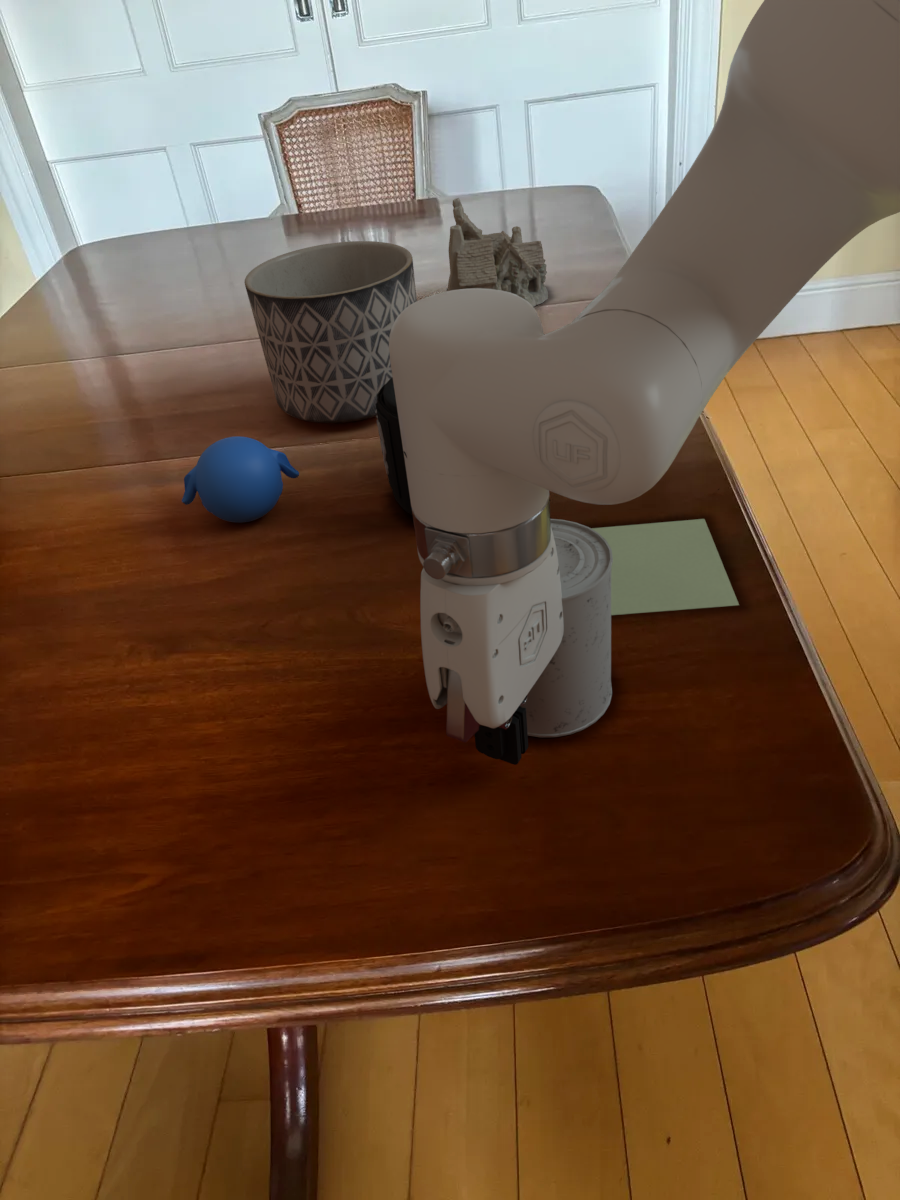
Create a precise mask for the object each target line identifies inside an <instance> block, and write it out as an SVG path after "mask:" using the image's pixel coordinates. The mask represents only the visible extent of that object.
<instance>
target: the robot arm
mask: <svg viewBox="0 0 900 1200" xmlns="http://www.w3.org/2000/svg"><path fill="white" fill-rule="evenodd" d="M723 97H724V98H723V102H722V105H721V109H720V111H719V114H718V116H717V119H716V121H715V124H714V125H713V127H712V128H711V129H712V130H711V131H710V133H709V135H708V137H707V138H706V140H705V143H704V144H703V147H702V148H701V150H700V151H699V153H698V155H697V156H696V158H695V160H694V161H693V163H692V165H691V166H690V168H689V169H688V171H687V173H686V174H685V175H684V177H683V179H682V180H681V182H680V184H678V186H677V188H676V189H675V191H674V192H673V194H672V195H671V197H670V198H669V200H668V201H667V202H666V204H665V205H664V207H663V208H662V209H661V211H660V213H659V214H658V215H657V217H656V218H655V220H654V221H653V222H652V223H651V225H650V227H649V228H648V230H647V231H646V233H645V234H644V236H643V237H642V239H640V241H639V243H638V244H637V245H636V246H635V248H634V250H633V251H632V252H631V254H630V256H628V258H627V259H626V261H625V262H624V263H623V265H622V266H621V268H620V269H619V270H618V271H617V273H616V275H615V276H614V277H613V278H612V280H611V281H610V282H609V283H608V284H607V285H606V287H605V288H604V289H603V290H602V291H601V292H600V293H599V294H598V295H596V296H595V298H593V300H591V302H590V303H589V304H587V305H586V307H585V308H583V310H582V311H581V312H579V314H578V315H577V316H576V317H575V318H574V319H573V320H572V321H571V322H570V323H568V324H565V325H563V326H561V327H559V328H557V329H554V330H552V331H549V332H547V333H544V327H543V324H542V321H541V318H540V316H539V313H538V312H537V310H536V308H535V306H534V307H533V306H532V305H531V304H530V303H529V302H528V301H526V300H525V299H523V298H521V297H520V296H518V295H516V294H513V293H510V292H506V291H502V290H495V289H483V288H470V289H458V290H451V291H443V292H438V293H435V294H431V295H429V296H426V297H423V298H421V299H417V301H416V302H414V303H413V304H411V305H410V306H408V307H407V308H406V309H405V310H403V311H402V312H401V313H400V314H399V316H398V317H397V318H396V320H395V322H394V324H393V326H392V328H391V332H390V337H389V352H390V363H391V370H392V376H393V383H394V390H395V397H396V404H397V411H398V418H399V425H400V432H401V439H402V446H403V453H404V459H405V466H406V473H407V480H408V487H409V494H410V501H411V508H412V514H413V515H412V521H413V527H414V534H415V541H416V549H417V555H418V559H419V562H420V564H421V565H422V570H421V572H420V589H419V590H420V591H419V592H420V595H419V598H420V599H419V613H420V615H419V616H420V619H419V620H420V637H421V638H420V639H421V640H420V641H421V652H422V661H423V669H424V676H425V683H426V687H427V692H428V695H429V699H430V702H431V704H432V706H433V708H434V709H436V710H440V709H442V708H443V707H445V706H446V720H445V721H446V723H445V724H446V725H445V734H446V737H449V738H451V739H454V740H457V741H459V742H462V743H467V742H468V741H470V739H471V738H473V736H474V741H475V742H474V744H475V749H476V751H478V753H480V754H484V755H485V756H486V757H489V758H490V759H494V760H499V761H503V762H506V763H508V764H511V765H513V766H517V765H518V764H519V763H520V761H521V759H522V755H524V754H525V753H527V752H526V751H527V750H528V749H529V736H528V731H527V715H526V708H524V707H520V705H524V704H525V703H526V701H527V699H528V695H529V691H530V690H531V688H532V687H533V685H534V684H535V682H536V681H537V680H538V678H539V677H540V675H541V674H542V672H543V671H544V669H545V668H546V666H547V665H548V663H549V662H550V660H551V659H552V657H553V655H554V654H555V652H556V651H557V649H558V647H559V645H560V643H561V640H562V637H563V633H564V622H563V606H562V591H561V581H560V572H559V563H558V556H557V550H556V545H555V540H554V536H553V532H552V528H551V523H550V519H551V497H550V496H551V495H550V494H551V493H554V494H556V495H559V496H561V497H565V498H567V499H569V500H574V501H577V502H581V503H585V504H591V505H603V506H605V505H607V506H608V505H612V506H613V505H618V504H625V503H627V502H630V501H632V500H635V499H636V498H639V497H641V496H642V495H644V494H646V493H647V492H648V491H650V490H651V489H652V488H653V487H655V486H656V485H657V483H658V482H659V481H660V480H661V479H662V478H663V476H664V475H665V474H666V473H667V471H668V470H669V468H670V467H671V466H672V464H673V462H674V461H675V459H676V458H677V456H678V454H679V453H680V451H681V449H682V448H683V445H684V444H685V442H686V440H687V439H688V437H689V436H690V434H691V433H692V430H693V429H694V427H695V426H696V423H697V421H698V420H699V418H700V416H701V415H702V413H703V412H704V410H705V408H706V407H707V405H708V403H709V401H710V400H711V399H712V397H713V395H714V394H715V393H716V391H717V389H719V386H720V385H721V383H722V382H723V381H724V379H725V378H726V376H727V375H728V374H729V372H730V371H731V370H732V368H733V367H734V366H735V365H736V364H737V363H738V361H739V360H741V358H742V356H743V355H744V354H745V353H746V352H747V351H748V350H749V348H750V347H751V346H752V345H753V344H754V343H755V341H756V340H757V339H758V338H759V337H760V336H761V335H762V333H763V332H764V331H765V330H766V329H767V328H768V327H769V326H770V325H771V323H772V322H773V321H774V320H775V319H776V318H777V317H778V315H779V314H780V313H781V312H782V311H783V310H784V308H786V306H788V304H789V303H790V302H791V301H792V300H793V299H794V298H795V297H796V296H797V295H798V294H799V292H800V291H801V290H802V289H803V288H804V287H805V286H806V284H808V282H809V281H810V280H811V279H812V278H813V277H814V276H815V275H816V274H817V273H818V272H819V271H820V270H821V269H822V268H823V267H824V266H825V265H826V264H827V263H828V262H829V261H830V260H831V259H832V258H833V257H834V256H835V255H836V254H837V253H838V252H839V251H840V250H841V249H842V248H844V246H846V245H847V244H848V243H849V242H850V241H851V240H853V239H854V238H855V237H856V236H858V235H859V234H860V233H861V232H863V231H865V229H867V228H868V227H870V226H872V225H874V224H875V223H877V222H879V221H881V220H884V219H886V218H888V217H891V216H893V215H897V214H898V213H900V0H763V1H762V3H761V4H760V5H759V7H758V9H757V10H756V12H755V14H754V15H753V17H752V19H750V22H749V24H748V25H747V27H746V29H745V31H744V33H743V35H742V36H741V39H740V40H739V43H738V45H737V47H736V50H735V52H734V54H733V56H732V60H731V63H730V65H729V69H728V74H727V80H726V85H725V93H724V96H723ZM550 492H551V493H550Z"/></svg>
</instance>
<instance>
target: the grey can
mask: <svg viewBox="0 0 900 1200" xmlns="http://www.w3.org/2000/svg"><path fill="white" fill-rule="evenodd" d="M550 523H551V528H552V532H553V536H554V540H555V545H556V550H557V556H558V563H559V572H560V581H561V591H562V606H563V622H564V633H563V637H562V640H561V643H560V645H559V647H558V649H557V651H556V652H555V654H554V655H553V657H552V659H551V660H550V662H549V663H548V665H547V666H546V668H545V669H544V671H543V672H542V674H541V675H540V677H539V678H538V680H537V681H536V682H535V684H534V685H533V687H532V688H531V690H530V691H529V695H528V699H527V701H526V703H525V704H524V705H520V707H524V708H526V715H527V731H528V737H534V738H540V739H541V738H542V739H543V738H560V737H565V736H570V735H573V734H575V733H579V732H581V731H584V730H586V729H587V728H589V727H591V726H592V725H594V724H595V723H596V722H597V721H598V720H599V719H601V717H603V716H604V715H605V713H606V711H607V710H608V708H609V706H610V704H611V701H612V698H613V686H612V615H611V566H612V563H613V557H612V550H611V548H610V546H609V544H608V542H607V541H606V540H605V539H604V538H603V537H602V536H601V535H600V534H599V533H598V532H596V531H594V530H593V529H591V527H589V526H587V525H584V524H581V523H579V522H576V521H572V520H571V521H570V520H565V519H560V518H559V519H558V518H550Z"/></svg>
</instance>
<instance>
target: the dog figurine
mask: <svg viewBox="0 0 900 1200" xmlns="http://www.w3.org/2000/svg"><path fill="white" fill-rule="evenodd" d="M282 473H283V474H284V475H285V476H286V477H288V478H290V479H299V476H300V472H299V470H297V469H296V468H295V467H294V466H293V465H292V464H291V462H290V461H289V458H288V456H287V455H286V454H285V453H284V452H282V451H280V450H276V449H273V448H270V447H267V445H265V444H264V443H262V442H261V441H259V440H257V439H255V438H252V437H248V436H242V435H241V436H238V435H237V436H236V435H235V436H229V437H228V436H227V437H224V438H221V439H219V440H216V441H215V442H213V443H212V444H210V445H209V446H208V447H207V448H205V449H204V451H202V453H201V455H199V458H198V460H197V461H196V465H195V466H194V467H193V468H192V469H190V470H189V471H188V472H187V474H185V476H184V477H183V483H184V492H183V496H182V498H181V503H182V504H184V505H185V506H188V505H191V504H192V503H193V502H194V501H195V499H196V496H197V493H198V497H199V498H200V501H201V504H202V506H203V508H204V509H205V510H206V511H207V512H208V513H211V514H212V515H213V516H214V517H216V518H218V519H220V520H222V521H225V522H229V523H235V524H236V523H237V524H242V523H249V522H254V521H256V520H259V519H260V518H263V517H264V516H266V515H267V514H268V513H270V512H271V511H272V510H273V509H274V507H276V505H277V503H278V501H279V499H280V497H281V495H282V494H283V489H284V483H283V477H282Z"/></svg>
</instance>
